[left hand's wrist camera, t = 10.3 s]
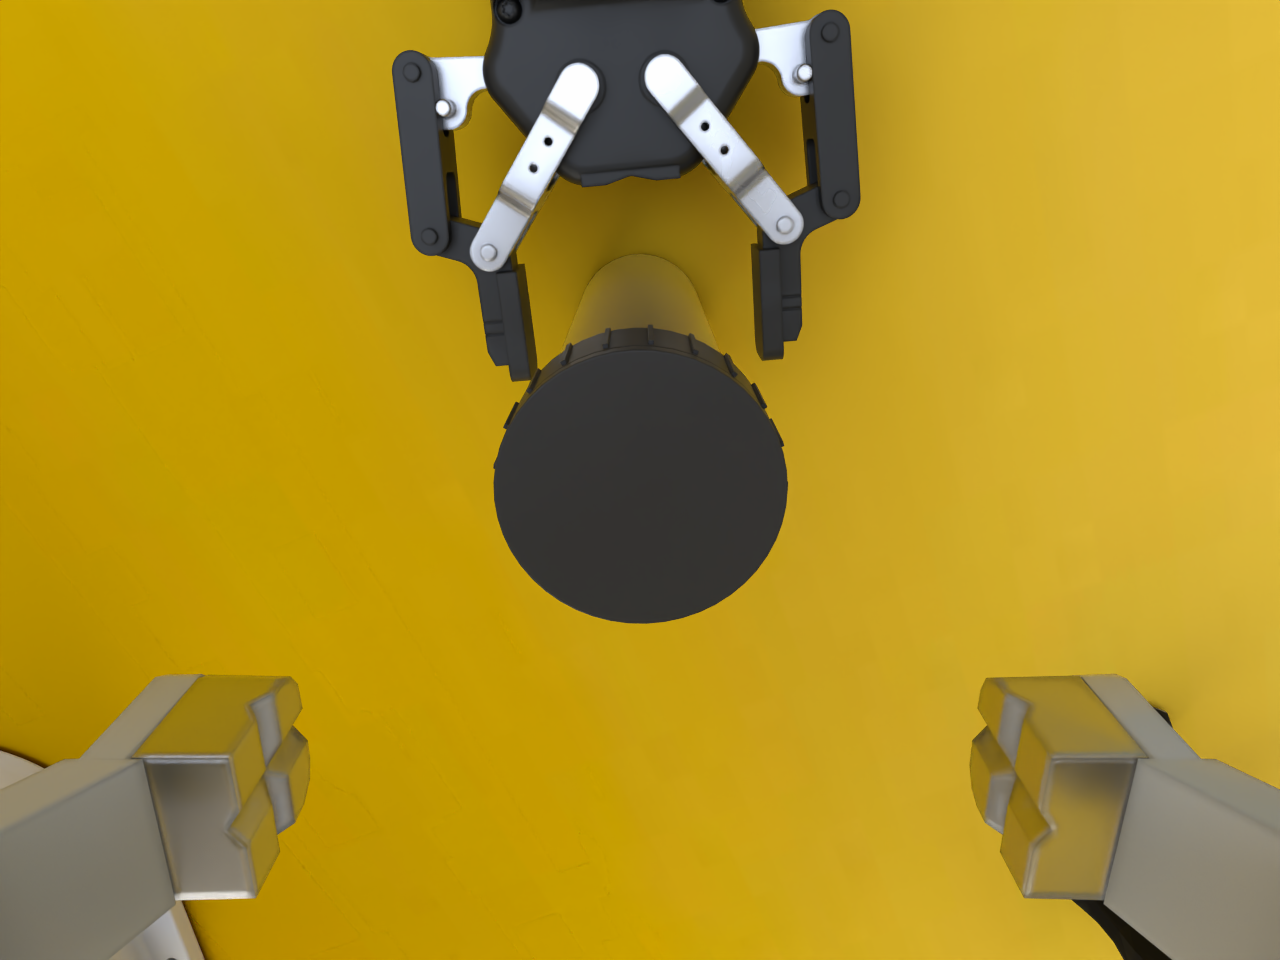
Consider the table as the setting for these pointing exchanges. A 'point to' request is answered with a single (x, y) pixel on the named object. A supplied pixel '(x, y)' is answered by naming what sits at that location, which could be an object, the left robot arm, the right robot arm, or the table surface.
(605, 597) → the lid
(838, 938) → the table surface
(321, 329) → the table surface
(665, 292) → the jar
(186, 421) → the table surface
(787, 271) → the right robot arm
